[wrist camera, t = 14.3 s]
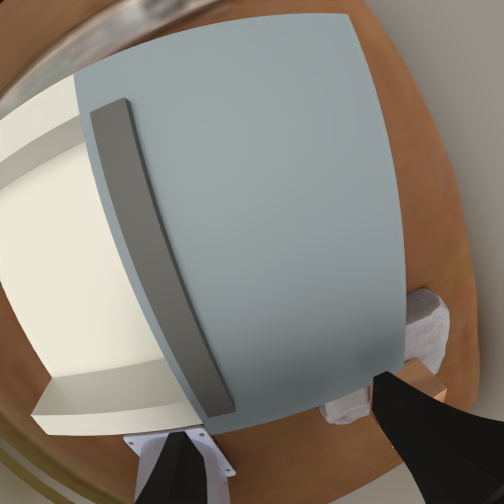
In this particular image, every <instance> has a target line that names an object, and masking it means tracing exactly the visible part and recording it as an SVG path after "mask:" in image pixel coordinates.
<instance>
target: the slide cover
mask: <svg viewBox="0 0 504 504" xmlns="http://www.w3.org/2000/svg"><path fill="white" fill-rule="evenodd" d="M73 76H74V84H75V91H76V97H77V103H78V109H79V115H80V120H81V125H82V130H83V135H84V139H85V144H86V148H87V152H88V156H89V160H90V164H91V168H92V172H93V176H94V180H95V183H96V187H97V190H98V194H99V197H100V200H101V204H102V207H103V210H104V213H105V216H106V219H107V222H108V225H109V228H110V231H111V234H112V237H113V240H114V243H115V245H116V248H117V251H118V254H119V256H120V259H121V262H122V264H123V267H124V269H125V272H126V274H127V277H128V279H129V282H130V284H131V286H132V289H133V291H134V294H135V296H136V298H137V301H138V303H139V305H140V307H141V310H142V312H143V314H144V316H145V318H146V320H147V323H148V325H149V327H150V329H151V331H152V333H153V335H154V337H155V339H156V341H157V343H158V345H159V347H160V349H161V351H162V353H163V355H164V357H165V359H166V361H167V363H168V365H169V366H170V368H171V370H172V372H173V374H174V376H175V377H176V379H177V381H178V383H179V385H180V386H181V388H182V390H183V392H184V393H185V395H186V397H187V398H188V400H189V402H190V403H191V405H192V407H193V408H194V410H195V412H196V413H197V415H198V417H199V418H200V420H201V421H202V423H203V424H204V426H205V428H206V429H207V431H208V432H209V434H210V435H215V434H221V433H225V432H230V431H235V430H239V429H243V428H247V427H251V426H255V425H259V424H263V423H267V422H270V421H274V420H277V419H281V418H284V417H287V416H290V415H294V414H297V413H300V412H303V411H306V410H309V409H312V408H314V407H317V406H320V405H323V404H326V403H328V402H331V401H333V400H336V399H339V398H341V397H344V396H346V395H349V394H351V393H353V392H356V391H358V390H360V389H363V388H365V387H367V386H369V385H372V384H373V377H374V376H377V375H379V374H381V373H383V372H385V371H389V372H390V373H392V374H395V373H397V372H399V371H400V370H402V369H403V366H404V353H405V335H406V272H405V253H404V240H403V229H402V219H401V211H400V203H399V196H398V189H397V182H396V176H395V170H394V165H393V160H392V155H391V150H390V145H389V140H388V136H387V131H386V127H385V123H384V119H383V115H382V111H381V108H380V104H379V100H378V97H377V93H376V90H375V87H374V83H373V80H372V77H371V74H370V71H369V68H368V65H367V62H366V59H365V56H364V54H363V51H362V48H361V46H360V43H359V40H358V38H357V35H356V33H355V30H354V28H353V25H352V23H351V21H350V18H349V16H348V14H330V13H308V14H285V15H272V16H262V17H254V18H246V19H239V20H233V21H227V22H221V23H216V24H211V25H207V26H202V27H198V28H194V29H189V30H186V31H182V32H178V33H174V34H171V35H168V36H164V37H161V38H158V39H155V40H152V41H149V42H146V43H143V44H140V45H137V46H134V47H132V48H129V49H126V50H124V51H121V52H119V53H116V54H114V55H112V56H109V57H107V58H105V59H102V60H100V61H98V62H96V63H94V64H91V65H89V66H87V67H85V68H83V69H81V70H79V71H77V72H75V73H73Z"/></svg>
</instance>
